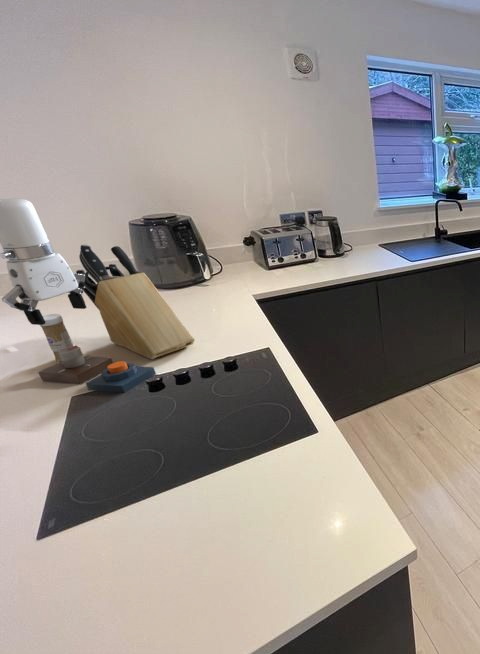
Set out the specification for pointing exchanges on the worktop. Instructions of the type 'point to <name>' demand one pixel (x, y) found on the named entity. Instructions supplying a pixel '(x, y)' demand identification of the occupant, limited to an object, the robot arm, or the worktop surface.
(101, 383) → the push button base
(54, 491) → the worktop surface
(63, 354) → the dial
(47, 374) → the dial panel
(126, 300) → the knife block
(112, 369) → the orange push button
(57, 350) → the sprinkles bottle
